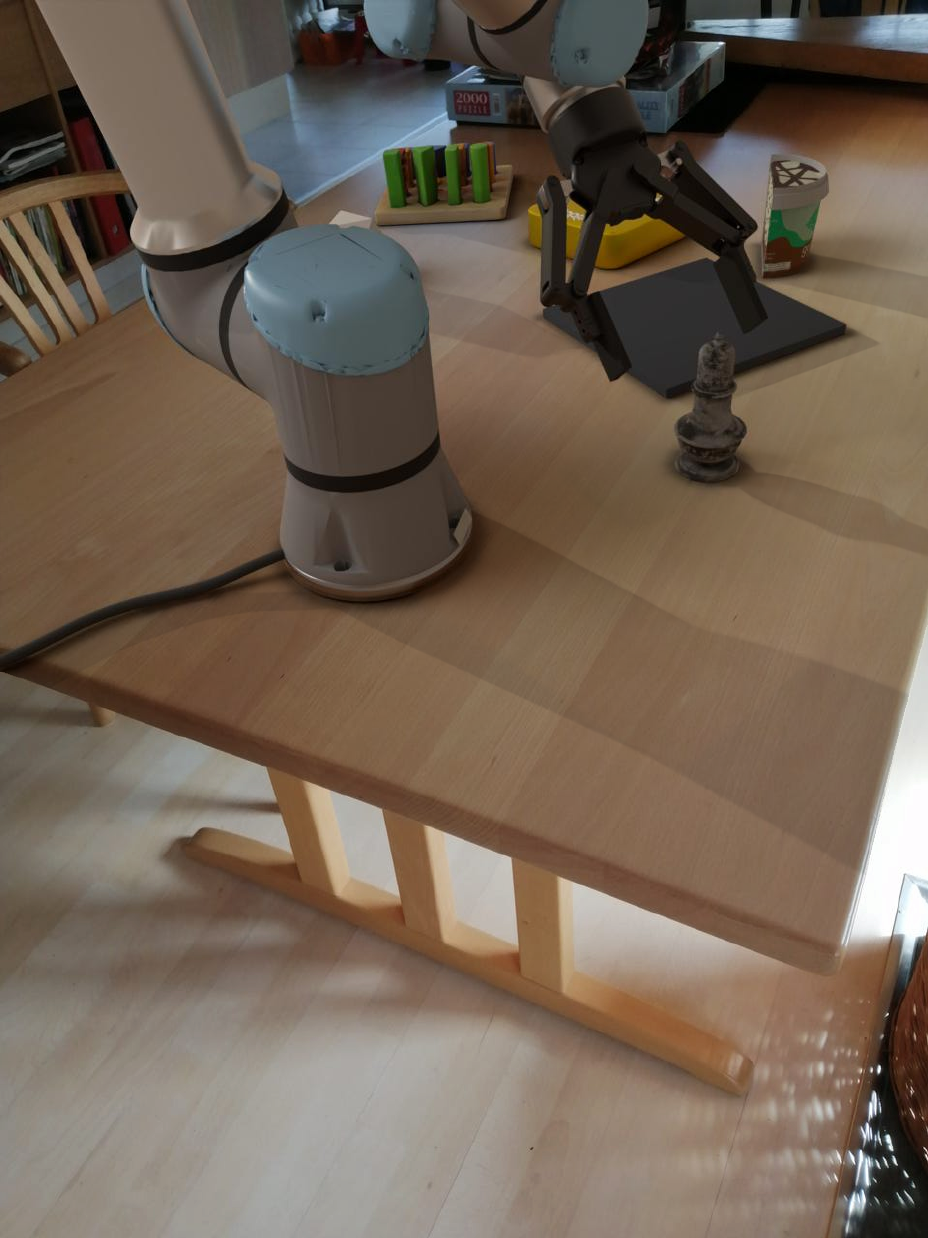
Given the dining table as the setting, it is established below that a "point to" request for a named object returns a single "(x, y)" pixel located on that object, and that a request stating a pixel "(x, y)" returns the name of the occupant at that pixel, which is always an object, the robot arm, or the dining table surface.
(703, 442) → the salt shaker
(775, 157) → the food container
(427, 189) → the peg board
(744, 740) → the dining table surface
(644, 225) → the element tile
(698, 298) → the mat
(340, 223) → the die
